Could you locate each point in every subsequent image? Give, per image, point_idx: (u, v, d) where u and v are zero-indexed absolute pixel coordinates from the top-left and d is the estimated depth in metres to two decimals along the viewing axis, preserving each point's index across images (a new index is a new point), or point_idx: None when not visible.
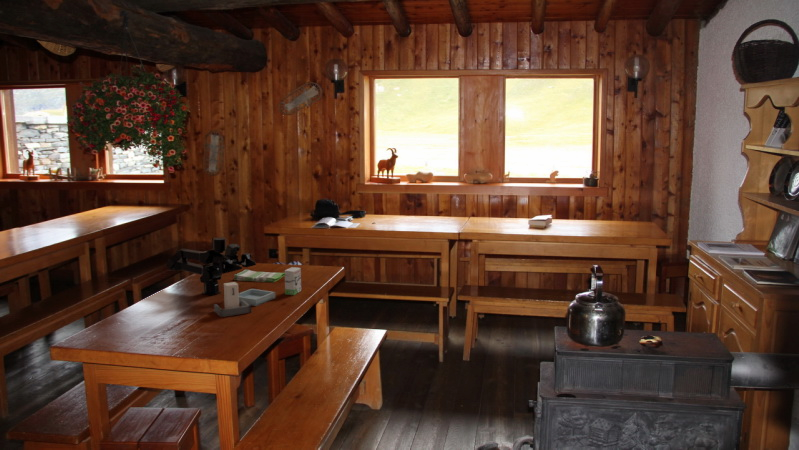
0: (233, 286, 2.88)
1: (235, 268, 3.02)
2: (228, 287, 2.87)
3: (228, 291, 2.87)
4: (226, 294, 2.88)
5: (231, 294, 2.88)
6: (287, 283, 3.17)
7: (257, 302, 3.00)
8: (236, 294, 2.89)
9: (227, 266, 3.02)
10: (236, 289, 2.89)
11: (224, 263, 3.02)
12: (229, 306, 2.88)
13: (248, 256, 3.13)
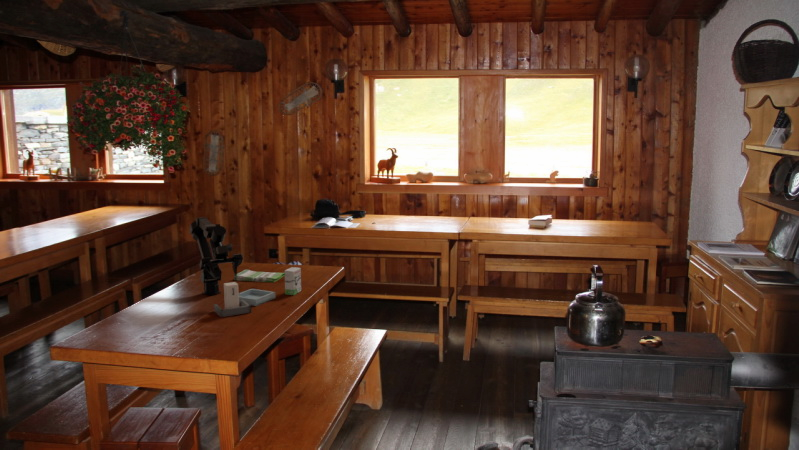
0: (233, 286, 2.88)
1: (211, 274, 2.95)
2: (228, 287, 2.87)
3: (228, 291, 2.87)
4: (226, 294, 2.88)
5: (231, 294, 2.88)
6: (287, 283, 3.17)
7: (257, 302, 3.00)
8: (236, 294, 2.89)
9: (207, 266, 2.96)
10: (236, 289, 2.89)
11: (204, 263, 2.95)
12: (229, 306, 2.88)
13: (237, 261, 3.01)
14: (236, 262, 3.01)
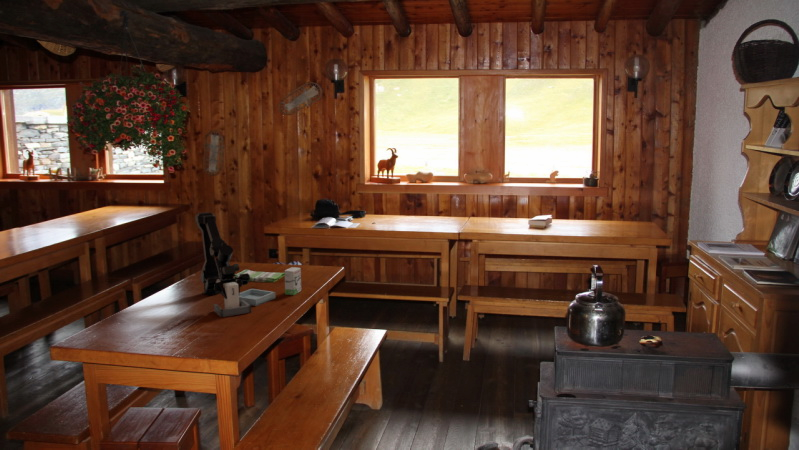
0: (233, 286, 2.88)
1: (222, 294, 2.89)
2: (228, 287, 2.87)
3: (228, 291, 2.87)
4: (226, 294, 2.88)
5: (231, 294, 2.88)
6: (287, 283, 3.17)
7: (257, 302, 3.00)
8: (236, 293, 2.89)
9: (217, 286, 2.90)
10: (236, 289, 2.89)
11: (215, 283, 2.89)
12: (229, 306, 2.88)
13: (239, 281, 2.93)
14: (239, 283, 2.93)
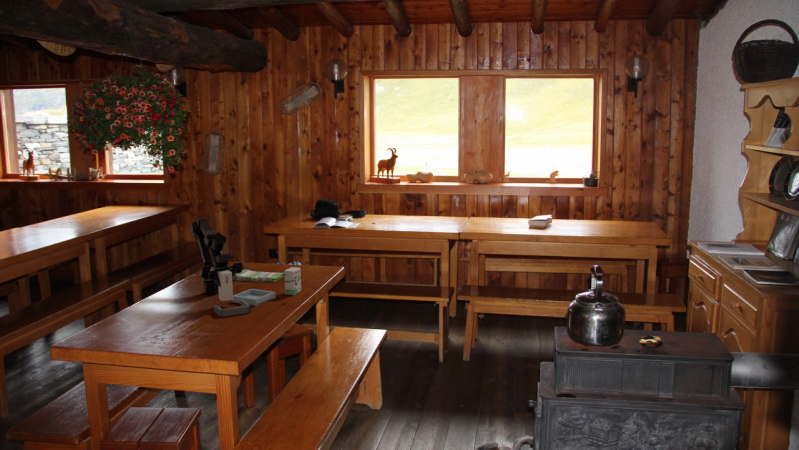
0: (227, 274, 2.95)
1: (216, 282, 2.96)
2: (222, 275, 2.94)
3: (222, 279, 2.94)
4: (220, 282, 2.95)
5: (225, 282, 2.95)
6: (287, 283, 3.17)
7: (257, 302, 3.00)
8: (229, 281, 2.96)
9: (211, 274, 2.97)
10: (230, 277, 2.96)
11: (209, 271, 2.96)
12: (223, 294, 2.95)
13: (233, 270, 3.00)
14: (232, 271, 3.00)
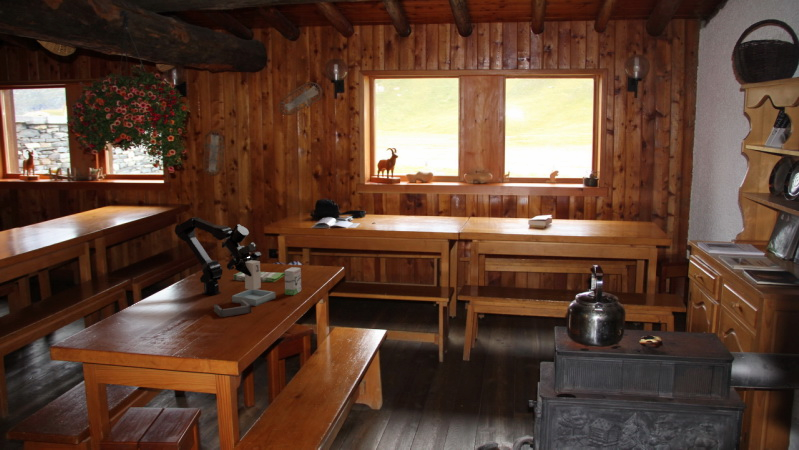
0: (256, 263, 3.05)
1: (245, 272, 3.04)
2: (253, 264, 3.03)
3: (253, 268, 3.03)
4: (250, 271, 3.04)
5: (255, 271, 3.05)
6: (287, 283, 3.17)
7: (257, 302, 3.00)
8: (258, 270, 3.06)
9: (239, 266, 3.03)
10: (258, 266, 3.06)
11: (238, 263, 3.02)
12: (254, 282, 3.05)
13: (255, 259, 3.10)
14: (255, 260, 3.10)
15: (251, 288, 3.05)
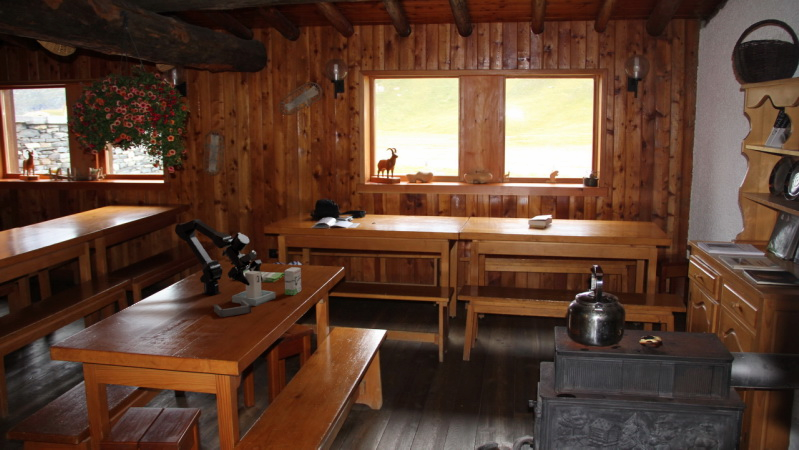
0: (257, 274, 3.06)
1: (243, 281, 3.03)
2: (254, 275, 3.04)
3: (254, 279, 3.04)
4: (251, 282, 3.05)
5: (256, 281, 3.06)
6: (287, 283, 3.17)
7: (257, 302, 3.00)
8: (259, 281, 3.07)
9: (237, 275, 3.02)
10: (259, 276, 3.07)
11: (236, 272, 3.01)
12: (255, 293, 3.06)
13: (259, 266, 3.13)
14: (258, 268, 3.12)
15: None
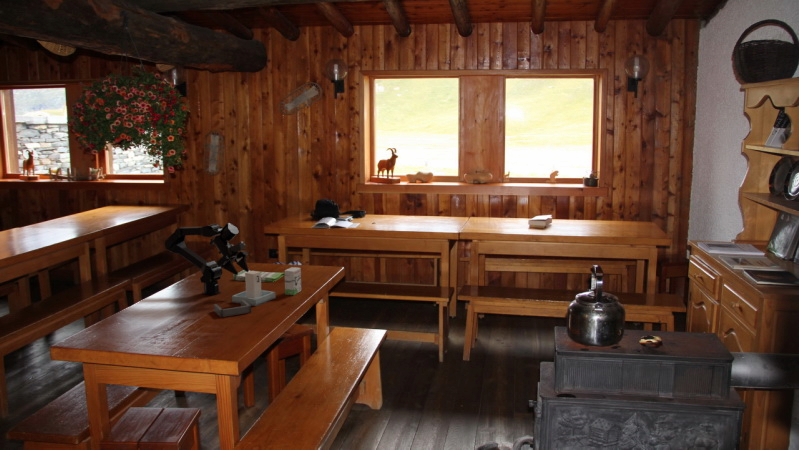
0: (257, 274, 3.06)
1: (232, 270, 3.07)
2: (254, 275, 3.04)
3: (254, 279, 3.04)
4: (251, 282, 3.05)
5: (256, 281, 3.06)
6: (287, 283, 3.17)
7: (257, 302, 3.00)
8: (259, 281, 3.07)
9: (226, 264, 3.06)
10: (259, 276, 3.07)
11: (226, 261, 3.04)
12: (255, 293, 3.06)
13: (245, 258, 3.17)
14: (245, 259, 3.17)
15: None
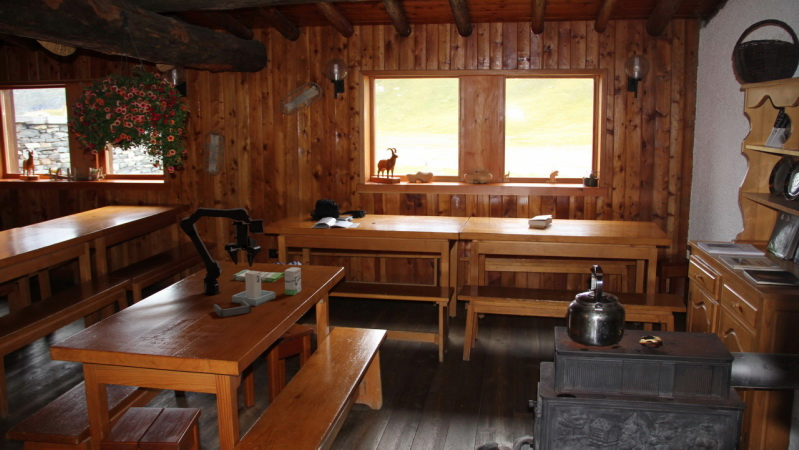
0: (257, 274, 3.06)
1: (251, 261, 3.18)
2: (254, 275, 3.04)
3: (254, 279, 3.04)
4: (251, 282, 3.05)
5: (256, 281, 3.06)
6: (287, 283, 3.17)
7: (257, 302, 3.00)
8: (259, 281, 3.07)
9: None
10: (259, 276, 3.07)
11: None
12: (255, 293, 3.06)
13: None
14: None
15: None
